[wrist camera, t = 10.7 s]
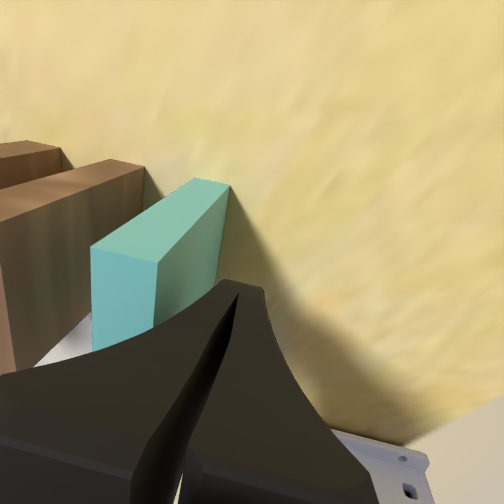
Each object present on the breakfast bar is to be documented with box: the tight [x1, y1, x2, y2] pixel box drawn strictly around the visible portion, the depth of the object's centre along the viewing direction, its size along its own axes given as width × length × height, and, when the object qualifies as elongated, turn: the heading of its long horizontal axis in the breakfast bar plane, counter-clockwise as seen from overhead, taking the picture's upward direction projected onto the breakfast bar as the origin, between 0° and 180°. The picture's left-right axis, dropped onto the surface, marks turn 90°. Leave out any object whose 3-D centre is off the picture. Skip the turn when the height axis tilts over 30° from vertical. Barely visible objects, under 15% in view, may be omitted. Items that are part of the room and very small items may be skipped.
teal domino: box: [90, 178, 230, 352], centre depth 12 cm, size 2×5×8 cm, turn 169°
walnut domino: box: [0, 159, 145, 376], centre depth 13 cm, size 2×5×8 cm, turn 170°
